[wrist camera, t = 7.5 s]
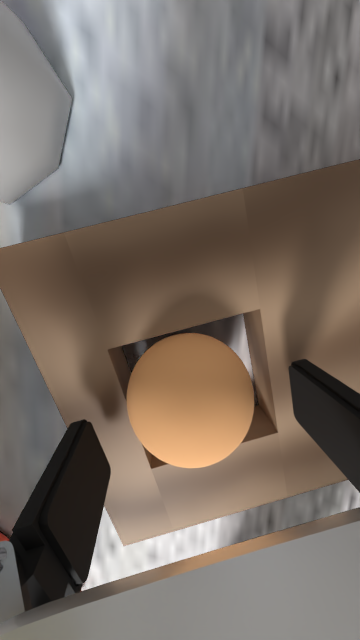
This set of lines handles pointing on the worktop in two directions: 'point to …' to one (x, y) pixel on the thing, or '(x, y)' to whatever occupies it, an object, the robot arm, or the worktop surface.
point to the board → (192, 310)
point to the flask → (27, 110)
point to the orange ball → (190, 400)
